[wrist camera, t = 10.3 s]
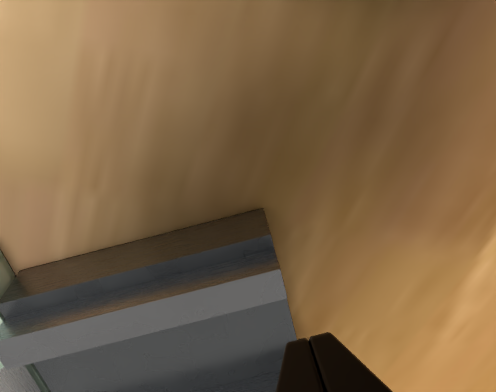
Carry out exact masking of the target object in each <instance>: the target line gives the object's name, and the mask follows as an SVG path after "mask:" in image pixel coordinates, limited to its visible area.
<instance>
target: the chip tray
mask: <svg viewBox="0 0 496 392" xmlns="http://www.w3.org/2000/svg"><path fill="white" fill-rule="evenodd" d="M15 277H16V276H15V274H14V272H13V271H12V269H11V267H10V266H9V264H8V262H7V260H6V259H5V257H4V255H3V254H2V252H1V250H0V299H1V297H2V296H3V294H4V293H5V291H6V290H7V288H8V287H9V286H10V284H11V283H12V281H13V280H14V278H15ZM3 320H4V316H3V315H2V313H1V312H0V325H1V323H2V321H3ZM24 366H25V367H26V369H27V370H28V372H29V373H30V375H31V376H32V378H33V379H34V381H35V382H36V384H37V385H38V387H39V389H40V390H41V392H51V391H50V389H49V388H48V386H47V384H46V383H45V381H44V380H43V378H42V376H41V375H40V373H39V372H38V370H37V369H36V367H35V365H34V364H33V363H32V364H28V365H24Z"/></svg>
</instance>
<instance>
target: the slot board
mask: <svg viewBox="0 0 496 392" xmlns="http://www.w3.org/2000/svg"><path fill="white" fill-rule="evenodd" d="M0 312H1V313H2V315H3V316H4V320H3V321H2V323H1V325H0V361H1V363H2V364H3V366H4V367H5V369H6V370H8V369H12V368H16V367H20V366H24V365H28V364H32V363H33V364H34V365H35V367H36V369H37V370H38V372H39V373H40V375H41V376H42V378H43V380H44V381H45V383H46V384H47V386H48V388H49V389H50V391H51V392H275V391H276V387H277V382H278V378H279V373H280V369H281V364H282V360H283V355H284V350H285V346H286V344H287V343H288V342H291V341H295V340H297V338H296V334H295V330H294V326H293V322H292V318H291V314H290V310H289V306H288V302H287V295H286V291H285V287H284V283H283V279H282V274H281V270H280V267H279V263H278V260H277V256H276V253H275V250H274V246H273V242H272V238H271V234H270V230H269V227H268V223H267V220H266V217H265V213H264V210H263V208H262V209H258V210H254V211H250V212H247V213H243V214H239V215H235V216H231V217H227V218H223V219H219V220H216V221H212V222H208V223H204V224H200V225H196V226H192V227H188V228H184V229H181V230H177V231H173V232H169V233H165V234H161V235H157V236H153V237H149V238H146V239H142V240H138V241H134V242H130V243H126V244H122V245H118V246H114V247H111V248H107V249H103V250H99V251H95V252H91V253H87V254H83V255H79V256H76V257H72V258H68V259H64V260H60V261H56V262H52V263H48V264H44V265H41V266H37V267H33V268H29V269H25V270H21V271H19V272H18V274H17V275H16V277H15V278H14V280H13V281H12V283H11V284H10V286H9V287H8V288H7V290H6V291H5V293H4V294H3V296H2V297H1V299H0Z"/></svg>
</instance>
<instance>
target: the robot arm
mask: <svg viewBox="0 0 496 392" xmlns="http://www.w3.org/2000/svg"><path fill="white" fill-rule="evenodd" d="M275 392H392V391H391V390H390V389H389V388H388V387H387V386H386V385H385V384H384V383H383V382H382V381H381V380H380V379H379V378H378V377H377V376H376V375H375V374H374V373H372V372H371V371H370V370H369V369H368V368H367V367H366V366H365V365H364V364H363V363H362V362H361V361H360V360H359V359H358V358H357V357H356V356H355V355H353V354H352V353H351V352H350V351H349V350H348V349H347V348H346V347H345V346H344V345H343V344H342V343H341V342H340V341H339V340H338V339H337V338H336V337H335V336H333V335H332V334H331V333H328V332H327V333H323V334H319V335H315V336H311V337H310V338H309V341H308V339H306V338H303V339H299V340H295V341H291V342H288V343H287V344H286V346H285V350H284V355H283V360H282V364H281V369H280V373H279V378H278V382H277V387H276V391H275Z"/></svg>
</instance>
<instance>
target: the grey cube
mask: <svg viewBox="0 0 496 392" xmlns="http://www.w3.org/2000/svg"><path fill="white" fill-rule="evenodd" d="M0 392H41V390H40V389H39V387H38V385H37V384H36V382H35V381H34V379H33V378H32V376H31V375H30V373H29V372H28V370H27V369H26V367H25V366H20V367H16V368H12V369H8V370H6V369H5V367H4V366H3V364H2V363H1V361H0Z"/></svg>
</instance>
